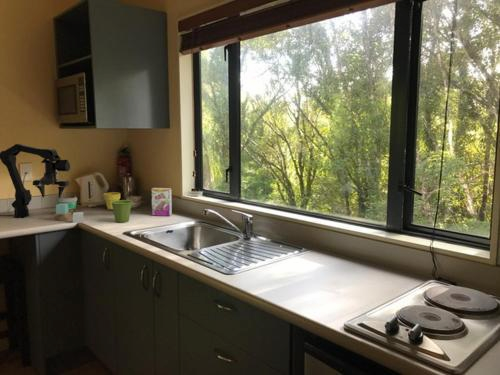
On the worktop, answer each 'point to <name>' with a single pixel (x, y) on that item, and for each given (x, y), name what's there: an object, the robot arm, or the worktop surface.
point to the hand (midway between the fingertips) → (51, 197)
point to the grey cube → (78, 217)
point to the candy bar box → (161, 201)
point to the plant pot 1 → (111, 199)
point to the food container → (69, 203)
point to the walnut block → (62, 216)
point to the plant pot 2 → (121, 210)
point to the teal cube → (61, 208)
